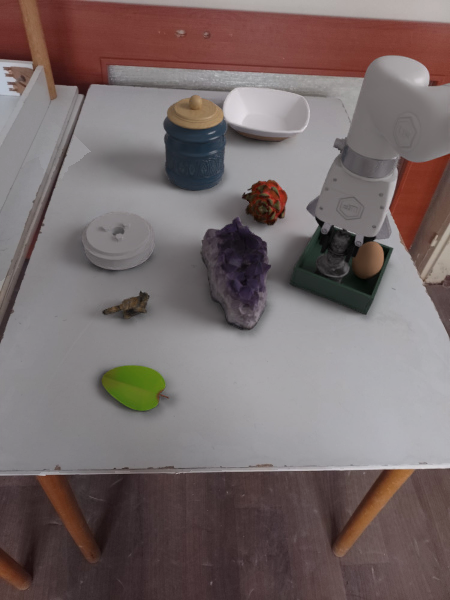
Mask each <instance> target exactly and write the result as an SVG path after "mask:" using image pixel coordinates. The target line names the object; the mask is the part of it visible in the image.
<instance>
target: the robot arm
mask: <svg viewBox="0 0 450 600" xmlns="http://www.w3.org/2000/svg"><path fill="white" fill-rule="evenodd" d="M429 84H430V72H429V70H428V69H427V67H426V65H424V64H423V63H421V62H420V61H418V60H416V59H413V58H410V57H407V56H403V55H383V56H379V57H377V58H375V59H374V60H373V61H372V62H371V63H370V64H369V65H368V66H367V67H366V71H365V73H364V76H363V80H362V83H361V86H360V90H359V94H358V97H357V101H356V104H355V108H354V111H353V115H352V118H351V122H350V125H349V128H348V132H347V135H346V136H345V137H344V138H339V137H336V138H335V140H334V141H333V146H332V148H333V149H336V150H338V151H339V154H338V155H337V156H335V158H334V159H333V161H332V163H331V165H330V167H329V169H328V172H327V173H326V177H325V178H324V179H325V180H324V182H323V185H322V188H321V191H320V194H319V195H318V196H316V197H314V199H312V200H311V201H309V203H308V204H307V205H306V208H305V209H306V211H307V212H308V213H309V214H310V215H311V216H312V217H314V220H315V221H316V223H317V224H318V226H320V227H321V232H322V236H321V239H320V242H319V245H322V248H321V251H320V253H325V251H326V250H327V246H328V244H329V243H330V241H331V238H332V235H333V232H334V229H335V228H334V227H336V228H339V229H345V230H347V231H348V232H350V233H353V234H356V235H355V237H354V239H353V241H352V243H351V245H350V247H349V250H348V253H347V256H346V258H345V261H346V262H347V263H349V261H350V259H351V256H352V257H354V258H355V257H356V255H357V253H358V250H359V248H360V246H362V244H364V243H367V242H371V241H375V240H388V239H390V237H391V234H392V228H391V224H390V220H389V217H388V216H389V215H388V213H389V209H390V206H391V204H392V202H393V201H392V200H393V198H394V195H395V191H396V187H397V182H398V176H399V170H398V168H397V165H398V162H399V160H400V158H401V157H402V158H404V159H405V160H406V161H409V162H412V163H427V162H429V161H433V160H436V159H438V158H441V157H443V156H447V155H449V154H450V82H448V83H444V84H441V85H429Z"/></svg>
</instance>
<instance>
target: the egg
mask: <svg viewBox="0 0 450 600" xmlns="http://www.w3.org/2000/svg"><path fill="white" fill-rule="evenodd" d="M376 242H377V241H375V242H367V243H365V244H363V245H362V246H361V247H360V248H359V250H358V253H357V255H356V257H355V258H354V257H353V259H352V270H353V272H354V274H355V275H356V276H357V277H358V278H360V279H369V278H372V277H374V276H375V275H376V274H377V273H378V272H379V271H380V269H381V268H382V265H383V261H384V253H383V249H382V247H381V246H380V245H379V244H378V243H379V242H378V243H376Z"/></svg>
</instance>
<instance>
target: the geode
mask: <svg viewBox="0 0 450 600" xmlns="http://www.w3.org/2000/svg"><path fill="white" fill-rule="evenodd" d="M200 241H201V250H200V256H201V260H202V262H203V264H204V265H205V267H206V269H207V280H208V281H209V282H208V283H209V288H210V289H209V290H210V297H211V299H212V301H214V302H216V303H219V304H220V305H221V307H222V309H223V310H224V313H225V319H226V321H227V323H228V325H231V326H233V327H236V328H238V329H240V330H242V331H243V330H246V331H250V330H253V328H255V327H256V326H257V324H258V322H259V321H260V320H261V317H262V315H263V314H264V312H265V310H266V308H267V306H268V304H267V303H268V290H267V279H268V272H269V270H270V269H271V268H272V264H271V263H269V262H270V260H269V256H268V242H267V241H265V240H263V239H262V237H260V236H259V235H257V234H255V232H252V230H250V227H249V226H248V225H243V224H242V220H241V218H240V216H236V217H235V218H234V219H233V220H232V221H231V223H228V224H226V225H224V226H223V227H222V228H220V229H217V228H207V230H206V231H205V234H204V235H203V238H202V239H201V240H200Z"/></svg>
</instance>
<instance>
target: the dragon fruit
mask: <svg viewBox="0 0 450 600" xmlns="http://www.w3.org/2000/svg"><path fill="white" fill-rule="evenodd" d="M247 191H250V192H248V193H246V192H243V194H242V195H241V199H243V200H245V201H246V202H248V205H247V206H246V208H245V209H244V211H245V213H246V215H250V216H252V218H253V220H254V222H256V223H263V224H265V225H267V227H268V226H269V227H270V226H274V225H275V224H276V222H277V221H278V219H280V220H281V219H285V216H286V205H287V202H288V194H287V191H286V190H285V189H283V188H282V186H281V185H280V184H279V183H278V182H277V181H276V180H275V179H268V180H267V181H266V180H258V181H257V182H254V183H252V184H251V187H249V188H247Z"/></svg>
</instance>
